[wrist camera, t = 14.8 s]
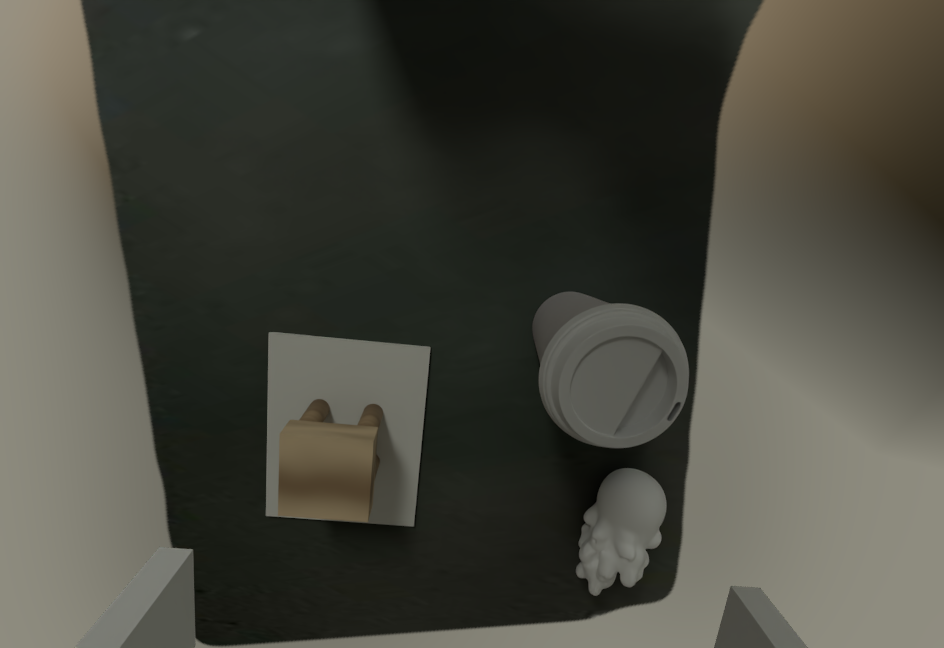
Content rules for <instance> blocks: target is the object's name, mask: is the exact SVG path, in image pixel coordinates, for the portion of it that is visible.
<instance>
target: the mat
mask: <svg viewBox="0 0 944 648" xmlns="http://www.w3.org/2000/svg"><path fill="white" fill-rule="evenodd" d="M430 349H431V347H426V346H415V345H404V344H394V343H383V342H372V341H362V340H351V339H341V338H330V337H319V336H309V335H298V334H288V333H277V332H269V344H268V411H267V479H266V516H274V517H288V518H302V519H316V518H303V517H289V516H278V485H279V438H280V432H281V431H282V430H283V428H284V427H285V426H286V424H287V423H288V422H289V420H300V418H301V417H302V415H303V414H304V412H305V411H306V410H307V408H308V407H309V405H310V404H311V403H312V402H313V401H314V400H316V399H322V400H325V401H326V402H327V403H328V404H329V406H330V411H329V413H328V415H327V417H326V419H325V420H324V422H325V423H337V424H349V425H358V422H359V420H360V418H361V415H362V413H363V411H364V408H365V407H366V406H367V405H369V404H377V405H379V406H380V407H381V408H382V410H383V417H382V420H381V423H380V426H379V429H378V439H377V453H376V454H377V455H378V457H379V459H380V463H379V467H378V471H377V474H376V478H375V481H374V496H373V505H372V509H371V513H370V517H369V520H368V522H358V521H344V520H330V519H316V520H330V521H344V522H357V523H371V524H385V525H399V526H413V527H414V520H415V509H416V498H417V488H418V477H419V466H420V456H421V445H422V434H423V423H424V413H425V402H426V391H427V381H428V370H429V359H430Z"/></svg>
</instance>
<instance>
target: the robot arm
mask: <svg viewBox="0 0 944 648" xmlns="http://www.w3.org/2000/svg"><path fill="white" fill-rule="evenodd" d="M194 647H195V609H194V567H193V550H192V549H178V548H162V547H160V548H158V550H157V551H156V552H155V553H154V554H153V555H152V557H151V558H150V559H149V560H148V562H147V563H146V564H145V565H144V566H143V567H142V568H141V570H140V571H139V572H138V573H137V574H136V575H135V577H134V578H133V579H132V580H131V582H130V583H129V584H128V585H127V586H126V587H125V588H124V590H123V591H122V592H121V593H120V594H119V596H118V597H117V598H116V599H115V600H114V602H113V603H112V604H111V605H110V606H109V607H108V608H107V610H106V611H105V612H104V613H103V614H102V616H101V617H100V618H99V619H98V620H97V621H96V623H95V624H94V625H93V626H92V627H91V629H90V630H89V631H88V632H87V633H86V635H85V636H84V637H83V638H82V639H81V640H80V641H79V643H78V644H77V645H76V646H75V647H74V648H194ZM714 648H807V646H806V645H805V644H804V642H803V641H802V640H801V639H800V637H798V635H797V634H796V632H795V631H794V630H793V629H792V627H791V626H790V625H789V624H788V622H787V621H786V620H785V619H784V617H783V616H782V615H781V614H780V613H779V611H778V610H777V608H776V607H775V606H774V605H773V604H772V602H771V601H770V600H769V598H768V597H767V596H766V595H765V593H764V592H763V591H762V590H761V588H754V587H739V586H731V588H730V591H729V595H728V599H727V602H726V606H725V610H724V613H723V617H722V621H721V624H720V628H719V632H718V636H717V639H716V643H715V647H714Z"/></svg>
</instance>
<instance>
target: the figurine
mask: <svg viewBox="0 0 944 648" xmlns="http://www.w3.org/2000/svg"><path fill="white" fill-rule="evenodd" d="M665 514H666V497H665V494H664V491H663V489H662V488H661V486H660V485H659V483H658V482H657V481H656V480H655V479H654V478H653V477H651V476H650V475H648V474H647V473H645V472H643V471H640V470H637V469H633V468H622V469H618V470H615V471H613V472H612V473H610V474H609V475H608V476H607V477H606V478H605V479H604V480H603V482H602V484H601V485H600V488H599V490H598V494H597V501H596V503H595V504H594V505H593V506H592V507H590V508H589V509H588V510H587V511H586V512H585V514H584V521H585V522H586V523H585V524H584V525H583V526H582V528H581V532H582V534H581V537H580V539H579V542H578V544H579V547H580V550H579V558H580V560H581V562H580V563H579V564H578V565H577V567H576V574H577V576H578V577H579V578H586V579H587V580H588V589H589V592H590V593H591V594H592V595H594V596H597V595H599V594H600V592H601V590H602V589H604V588H608V587H610V586H611V585H612V584H613V583H614V581H615V578H616V575H617V572H619V573H620V580H621V583H622V584H623V585H624V586H626V587H632V586H634V584H635V582H637V581H639V580H640V579H641V578H642V576H643V571H644V568H645V567H646V566H647V565H648V563H649V556H648V553H647V552H646V549H647V548H648V549H654V548H656V547H658V546H659V544H660V542H661V533H660V531H659V527H660V526H661V524H662V522H663V520H664V517H665Z"/></svg>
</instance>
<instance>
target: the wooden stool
mask: <svg viewBox="0 0 944 648" xmlns="http://www.w3.org/2000/svg"><path fill="white" fill-rule="evenodd" d="M329 411H330V406H329V404H328V403H327V402H326V401H325V400H322V399H316V400H314V401H313V402H312V403H311V404H310V405H309V407H308V408H307V410H306V411H305V412H304V414H303V415H302V417H301V418H300V420H289V422H288V423H287V424H286V426H285V427H284V428H283V430H282V431H281V432H280V438H279V485H278V516H289V517H303V518H316V519H330V520H344V521H358V522H368V520H369V517H370V513H371V509H372V505H373V496H374V481H375V478H376V474H377V471H378V467H379V463H380V459H379V457H378V455H377V454H376V453H377V439H378V429H379V426H380V423H381V420H382V417H383V410H382V408H381V407H380V406H379V405H377V404H369V405H367V406H366V407H365V408H364V411H363V413H362V415H361V418H360V420H359V422H358V425H349V424H337V423H325V422H324V420H325V419H326V417H327V415H328V413H329Z"/></svg>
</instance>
